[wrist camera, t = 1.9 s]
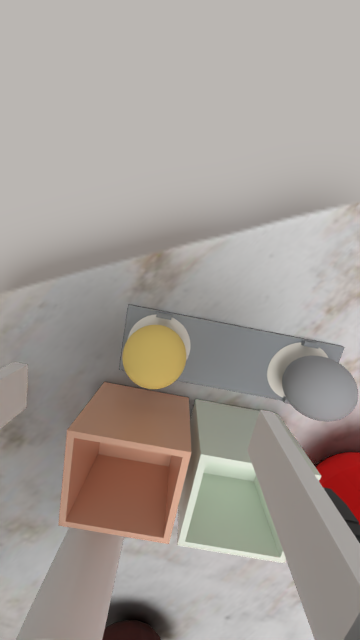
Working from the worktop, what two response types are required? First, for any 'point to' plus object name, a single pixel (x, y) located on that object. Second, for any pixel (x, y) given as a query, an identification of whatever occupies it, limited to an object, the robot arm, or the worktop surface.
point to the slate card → (231, 352)
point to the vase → (343, 478)
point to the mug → (75, 589)
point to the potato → (130, 631)
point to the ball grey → (320, 388)
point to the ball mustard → (154, 356)
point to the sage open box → (226, 486)
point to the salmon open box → (126, 463)
